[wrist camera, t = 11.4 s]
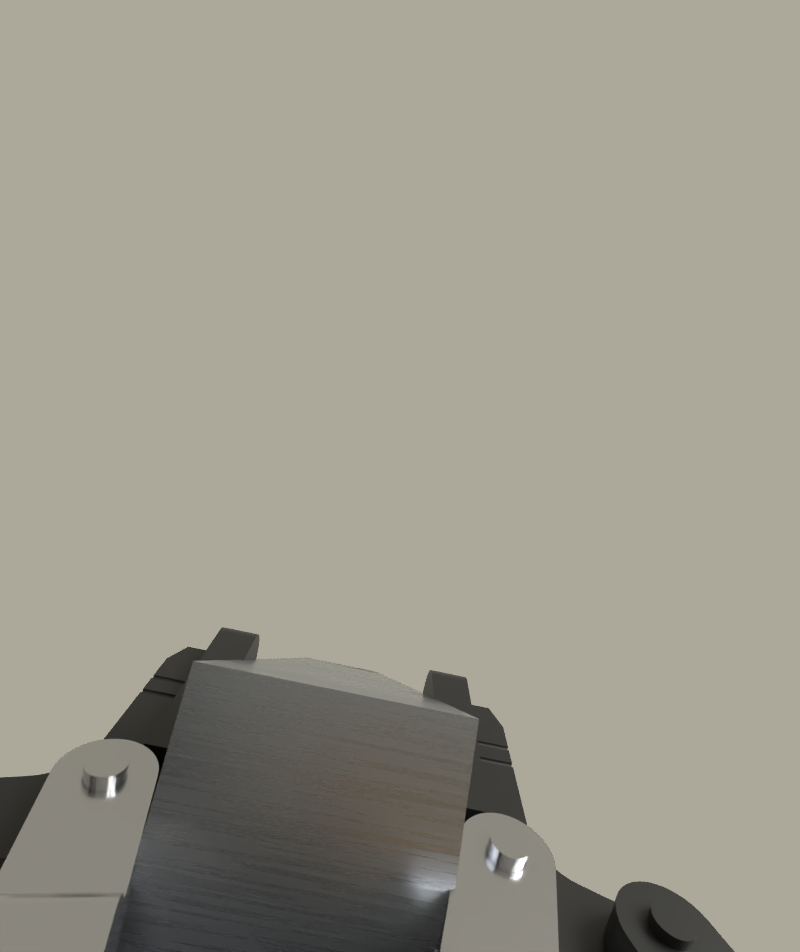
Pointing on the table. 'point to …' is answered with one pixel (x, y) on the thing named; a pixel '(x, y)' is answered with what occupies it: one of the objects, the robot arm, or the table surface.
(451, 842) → the steel block
